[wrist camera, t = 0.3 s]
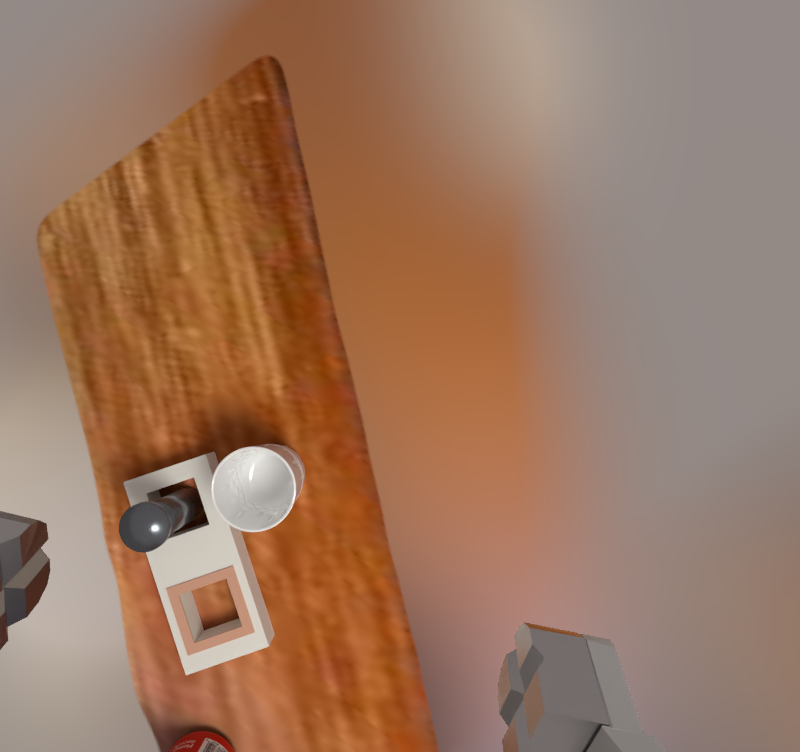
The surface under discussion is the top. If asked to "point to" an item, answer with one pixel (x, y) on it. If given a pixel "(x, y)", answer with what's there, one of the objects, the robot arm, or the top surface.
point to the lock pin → (159, 519)
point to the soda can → (201, 743)
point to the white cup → (257, 486)
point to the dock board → (204, 573)
